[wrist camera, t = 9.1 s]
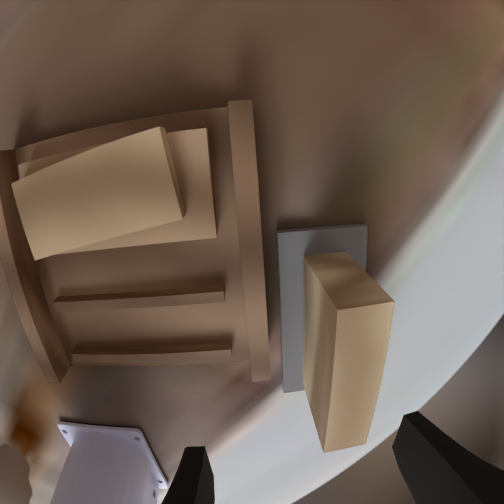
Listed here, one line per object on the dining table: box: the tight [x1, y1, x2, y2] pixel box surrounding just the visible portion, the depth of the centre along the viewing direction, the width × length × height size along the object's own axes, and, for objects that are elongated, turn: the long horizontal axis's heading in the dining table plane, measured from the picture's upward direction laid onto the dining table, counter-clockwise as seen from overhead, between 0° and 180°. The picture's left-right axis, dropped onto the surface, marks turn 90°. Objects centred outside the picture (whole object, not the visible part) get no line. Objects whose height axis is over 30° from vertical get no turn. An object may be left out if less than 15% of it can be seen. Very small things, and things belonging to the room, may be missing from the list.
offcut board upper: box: [11, 126, 186, 260], centre depth 13 cm, size 4×8×1 cm, turn 102°
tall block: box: [303, 252, 395, 453], centre depth 16 cm, size 2×9×6 cm, turn 4°
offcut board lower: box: [18, 128, 218, 255], centre depth 15 cm, size 5×10×1 cm, turn 94°
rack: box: [0, 100, 271, 383], centre depth 16 cm, size 14×14×3 cm
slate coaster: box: [276, 223, 368, 393], centre depth 19 cm, size 11×5×1 cm, turn 4°
